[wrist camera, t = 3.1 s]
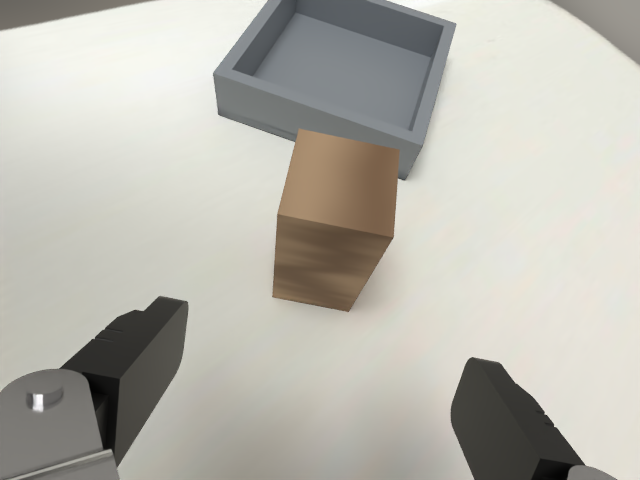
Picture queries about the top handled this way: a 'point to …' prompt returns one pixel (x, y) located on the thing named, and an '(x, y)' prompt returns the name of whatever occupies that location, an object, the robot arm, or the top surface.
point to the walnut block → (333, 219)
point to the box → (338, 72)
